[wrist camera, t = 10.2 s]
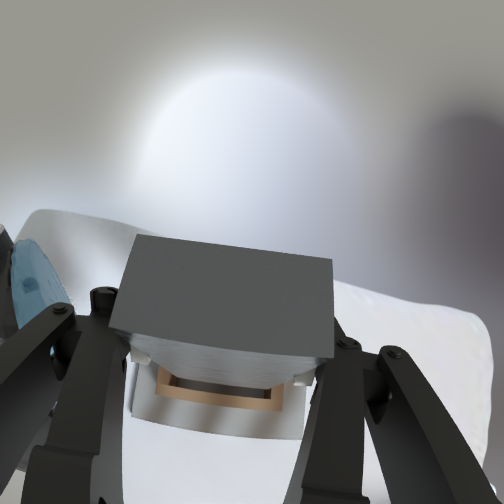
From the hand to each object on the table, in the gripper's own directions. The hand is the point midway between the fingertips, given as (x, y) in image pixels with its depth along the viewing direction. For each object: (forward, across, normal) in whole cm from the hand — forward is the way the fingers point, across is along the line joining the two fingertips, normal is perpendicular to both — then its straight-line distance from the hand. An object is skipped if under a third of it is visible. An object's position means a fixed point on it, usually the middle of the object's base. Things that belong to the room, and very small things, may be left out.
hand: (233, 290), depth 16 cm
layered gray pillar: (0, 0, -5) cm, 5 cm away
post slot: (+11, 0, -16) cm, 20 cm away
